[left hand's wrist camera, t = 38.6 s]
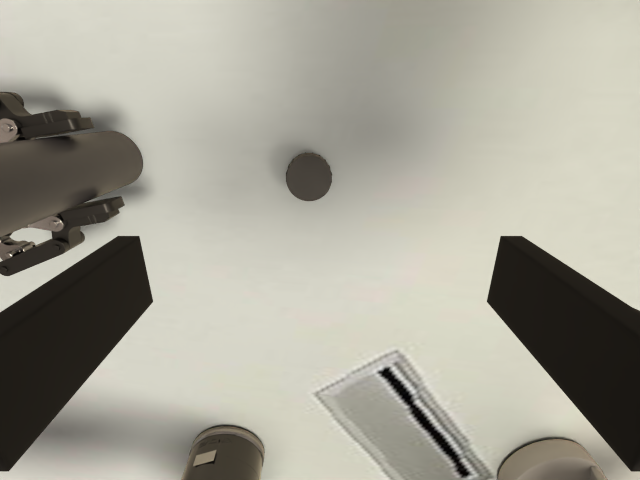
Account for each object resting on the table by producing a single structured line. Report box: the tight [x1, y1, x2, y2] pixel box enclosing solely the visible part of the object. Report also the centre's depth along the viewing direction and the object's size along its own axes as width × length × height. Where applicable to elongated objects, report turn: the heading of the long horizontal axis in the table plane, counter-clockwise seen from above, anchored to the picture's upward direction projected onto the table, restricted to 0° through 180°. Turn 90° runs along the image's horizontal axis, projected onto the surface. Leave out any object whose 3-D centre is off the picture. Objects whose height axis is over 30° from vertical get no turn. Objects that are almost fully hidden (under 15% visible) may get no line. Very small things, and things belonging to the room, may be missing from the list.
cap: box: [286, 153, 332, 201], centre depth 31 cm, size 4×4×2 cm
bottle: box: [0, 131, 143, 237], centre depth 20 cm, size 5×5×24 cm
